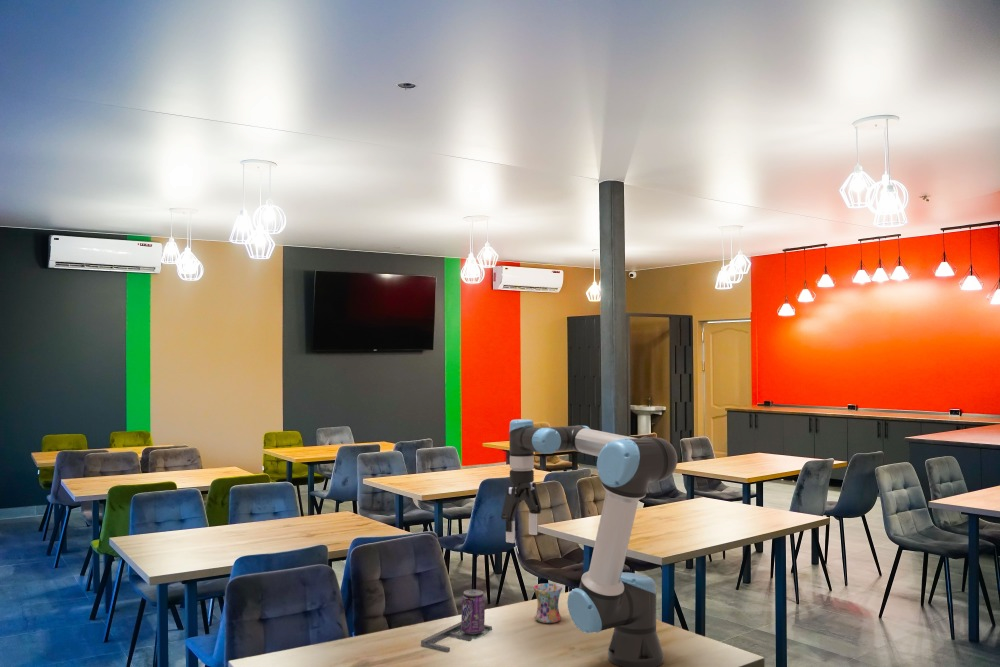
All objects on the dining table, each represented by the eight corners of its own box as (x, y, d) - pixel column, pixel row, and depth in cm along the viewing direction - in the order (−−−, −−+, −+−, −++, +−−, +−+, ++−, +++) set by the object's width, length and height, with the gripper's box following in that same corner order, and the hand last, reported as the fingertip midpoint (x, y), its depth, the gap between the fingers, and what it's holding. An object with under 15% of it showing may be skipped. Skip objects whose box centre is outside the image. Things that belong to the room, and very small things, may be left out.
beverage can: (458, 629, 237) (459, 590, 237) (479, 627, 239) (480, 588, 240) (465, 636, 230) (466, 596, 231) (487, 634, 233) (488, 594, 233)
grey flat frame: (493, 629, 238) (493, 624, 238) (448, 652, 218) (448, 646, 218) (466, 624, 243) (466, 619, 243) (421, 646, 224) (421, 640, 224)
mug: (562, 625, 242) (562, 591, 243) (533, 625, 242) (533, 590, 243) (561, 613, 254) (561, 581, 255) (533, 613, 254) (533, 580, 255)
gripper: (531, 464, 250) (531, 530, 249) (489, 472, 229) (489, 544, 228) (551, 466, 246) (552, 532, 245) (510, 474, 225) (511, 547, 224)
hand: (522, 538), depth 236 cm, fingers open, 13 cm apart
